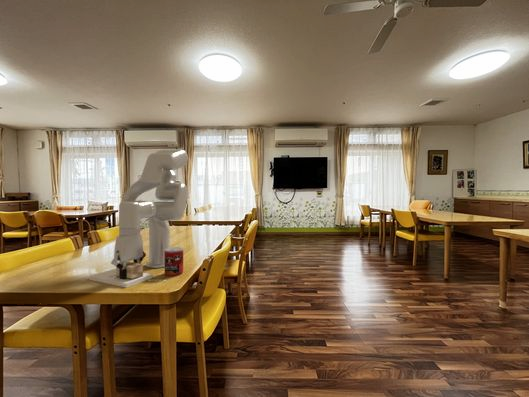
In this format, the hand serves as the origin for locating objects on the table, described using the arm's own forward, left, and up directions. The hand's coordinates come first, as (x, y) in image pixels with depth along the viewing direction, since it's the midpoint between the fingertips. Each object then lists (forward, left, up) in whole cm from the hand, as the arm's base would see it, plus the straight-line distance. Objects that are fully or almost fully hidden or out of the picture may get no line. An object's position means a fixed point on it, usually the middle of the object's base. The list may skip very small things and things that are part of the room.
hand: (129, 276), depth 98 cm
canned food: (-14, +10, -2) cm, 17 cm away
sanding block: (0, 0, 0) cm, 0 cm away
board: (0, -5, -2) cm, 5 cm away
